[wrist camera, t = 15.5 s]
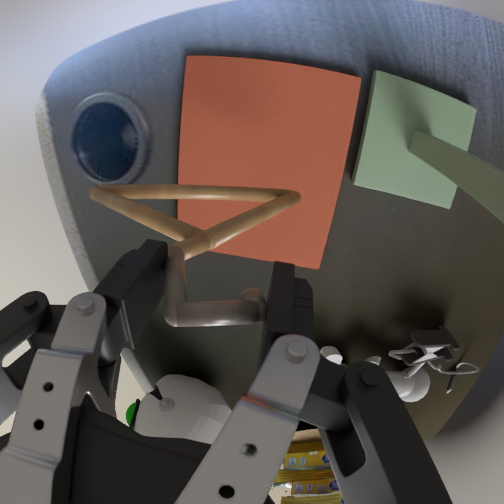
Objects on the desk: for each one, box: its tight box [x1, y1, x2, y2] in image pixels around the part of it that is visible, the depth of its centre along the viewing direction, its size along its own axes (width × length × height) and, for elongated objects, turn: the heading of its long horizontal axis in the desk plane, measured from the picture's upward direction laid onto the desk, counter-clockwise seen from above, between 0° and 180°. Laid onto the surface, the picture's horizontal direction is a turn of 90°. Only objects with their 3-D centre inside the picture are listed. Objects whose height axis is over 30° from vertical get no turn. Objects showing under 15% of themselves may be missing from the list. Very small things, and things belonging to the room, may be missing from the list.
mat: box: [178, 55, 361, 269], centre depth 25 cm, size 18×14×1 cm
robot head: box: [126, 374, 231, 444], centre depth 35 cm, size 16×14×20 cm
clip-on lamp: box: [385, 325, 479, 402], centre depth 33 cm, size 12×6×18 cm
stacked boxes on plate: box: [273, 429, 344, 504], centre depth 42 cm, size 25×25×17 cm
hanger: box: [89, 184, 301, 327], centre depth 14 cm, size 14×1×11 cm, turn 82°
